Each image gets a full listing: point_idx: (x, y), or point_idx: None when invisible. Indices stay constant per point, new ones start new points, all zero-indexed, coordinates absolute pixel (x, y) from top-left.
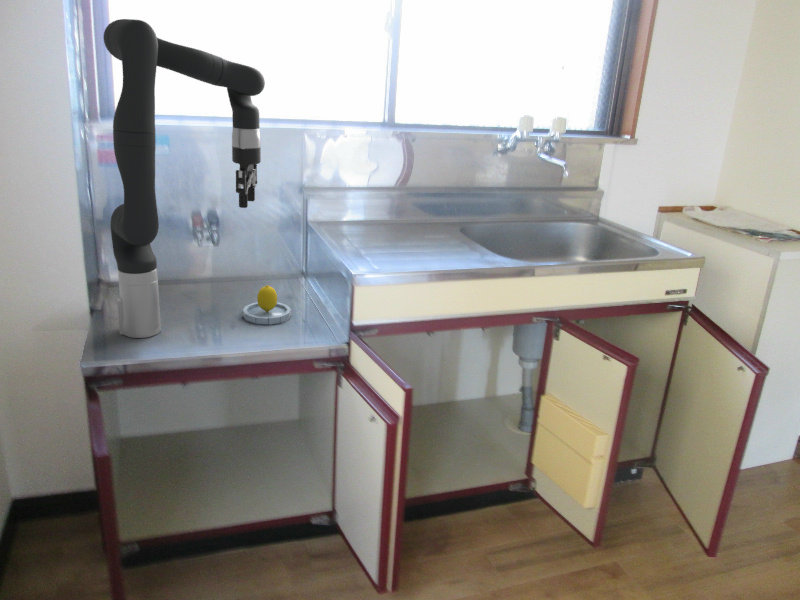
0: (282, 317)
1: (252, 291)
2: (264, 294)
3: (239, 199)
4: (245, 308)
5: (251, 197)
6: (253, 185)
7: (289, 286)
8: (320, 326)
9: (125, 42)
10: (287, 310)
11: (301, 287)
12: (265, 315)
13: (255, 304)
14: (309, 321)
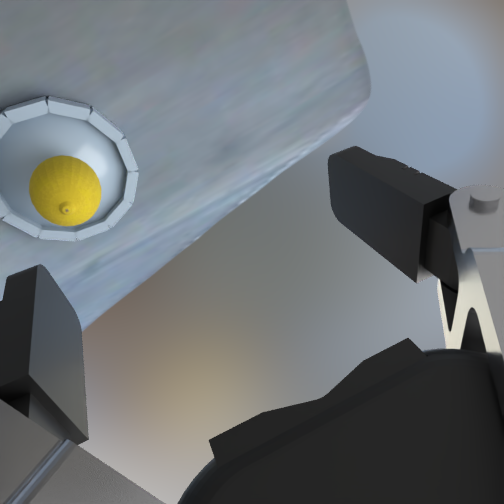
0: (47, 237)
1: (226, 15)
2: (35, 207)
3: (3, 335)
4: (23, 112)
5: (350, 209)
6: (441, 304)
7: (305, 105)
8: (85, 308)
9: None
10: (95, 226)
11: (308, 139)
12: None
13: (84, 119)
14: (97, 275)
